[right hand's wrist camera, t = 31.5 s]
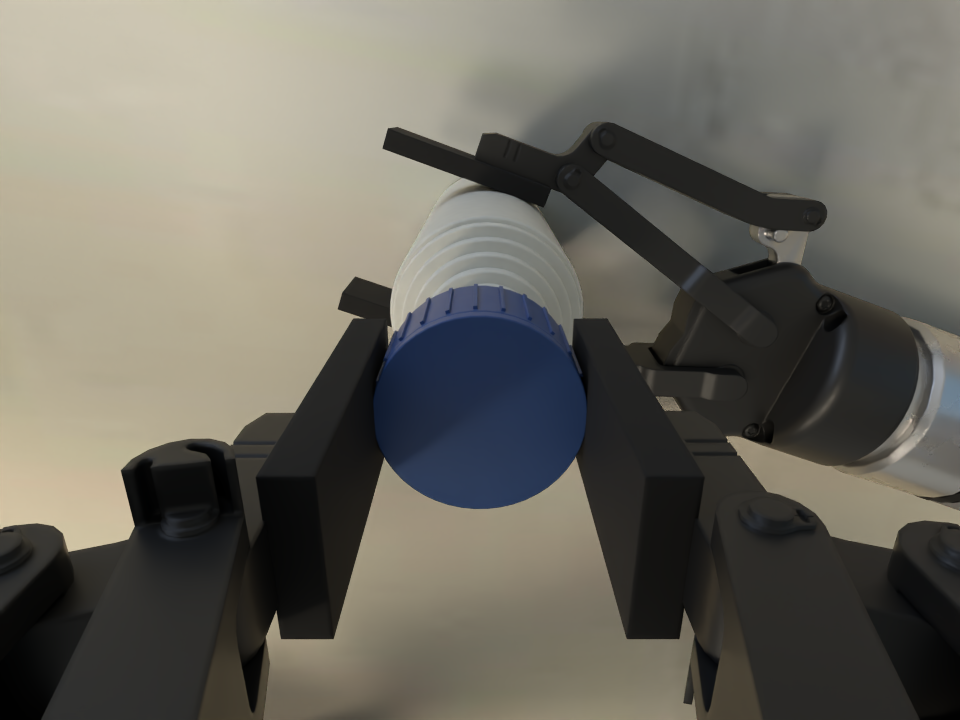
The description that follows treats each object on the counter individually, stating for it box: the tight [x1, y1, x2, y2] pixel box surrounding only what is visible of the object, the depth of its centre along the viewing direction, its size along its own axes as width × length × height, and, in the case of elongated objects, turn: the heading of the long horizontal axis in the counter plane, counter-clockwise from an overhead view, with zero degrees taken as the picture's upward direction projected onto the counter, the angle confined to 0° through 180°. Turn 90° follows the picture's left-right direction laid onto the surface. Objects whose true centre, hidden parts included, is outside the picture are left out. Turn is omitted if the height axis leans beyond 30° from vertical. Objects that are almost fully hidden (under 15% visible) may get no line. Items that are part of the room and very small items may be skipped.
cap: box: [373, 284, 587, 509], centre depth 13 cm, size 4×4×2 cm
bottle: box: [390, 178, 583, 345], centre depth 23 cm, size 6×6×20 cm
